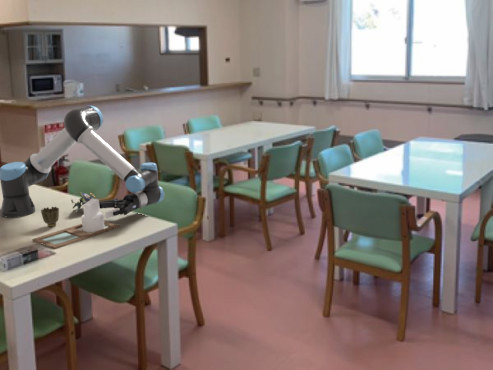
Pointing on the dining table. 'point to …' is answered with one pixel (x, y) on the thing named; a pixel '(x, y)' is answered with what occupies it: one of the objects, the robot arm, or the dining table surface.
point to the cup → (50, 216)
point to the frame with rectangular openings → (63, 238)
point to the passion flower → (83, 199)
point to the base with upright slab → (92, 216)
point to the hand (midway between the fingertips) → (96, 212)
